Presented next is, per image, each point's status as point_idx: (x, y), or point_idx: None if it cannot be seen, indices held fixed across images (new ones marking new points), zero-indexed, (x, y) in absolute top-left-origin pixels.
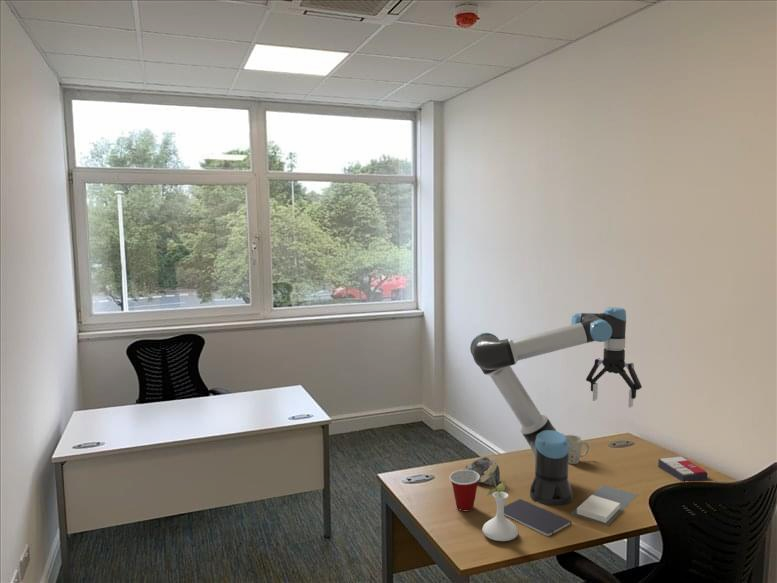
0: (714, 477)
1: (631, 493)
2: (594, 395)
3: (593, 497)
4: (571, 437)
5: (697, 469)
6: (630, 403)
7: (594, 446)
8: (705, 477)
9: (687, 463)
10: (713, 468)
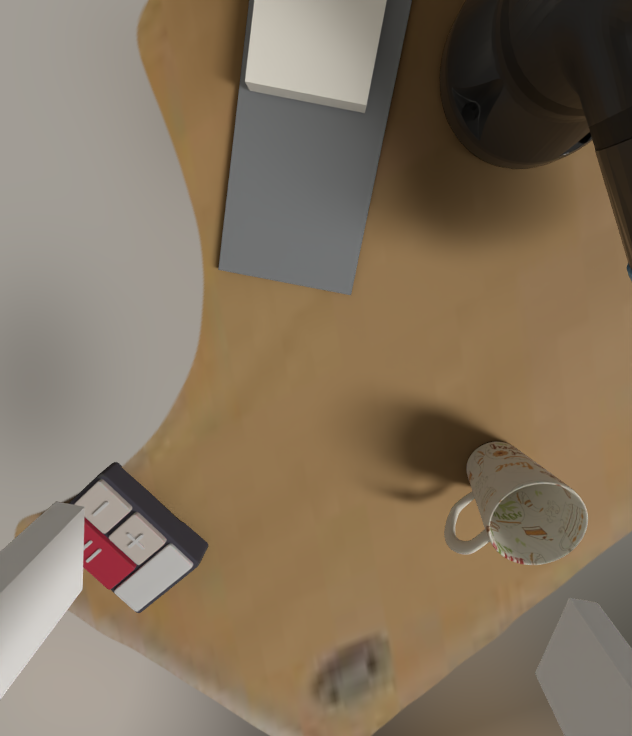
0: None
1: (239, 269)
2: (628, 679)
3: (355, 79)
4: (538, 553)
5: None
6: (11, 542)
7: (431, 623)
8: None
9: (105, 565)
10: None
